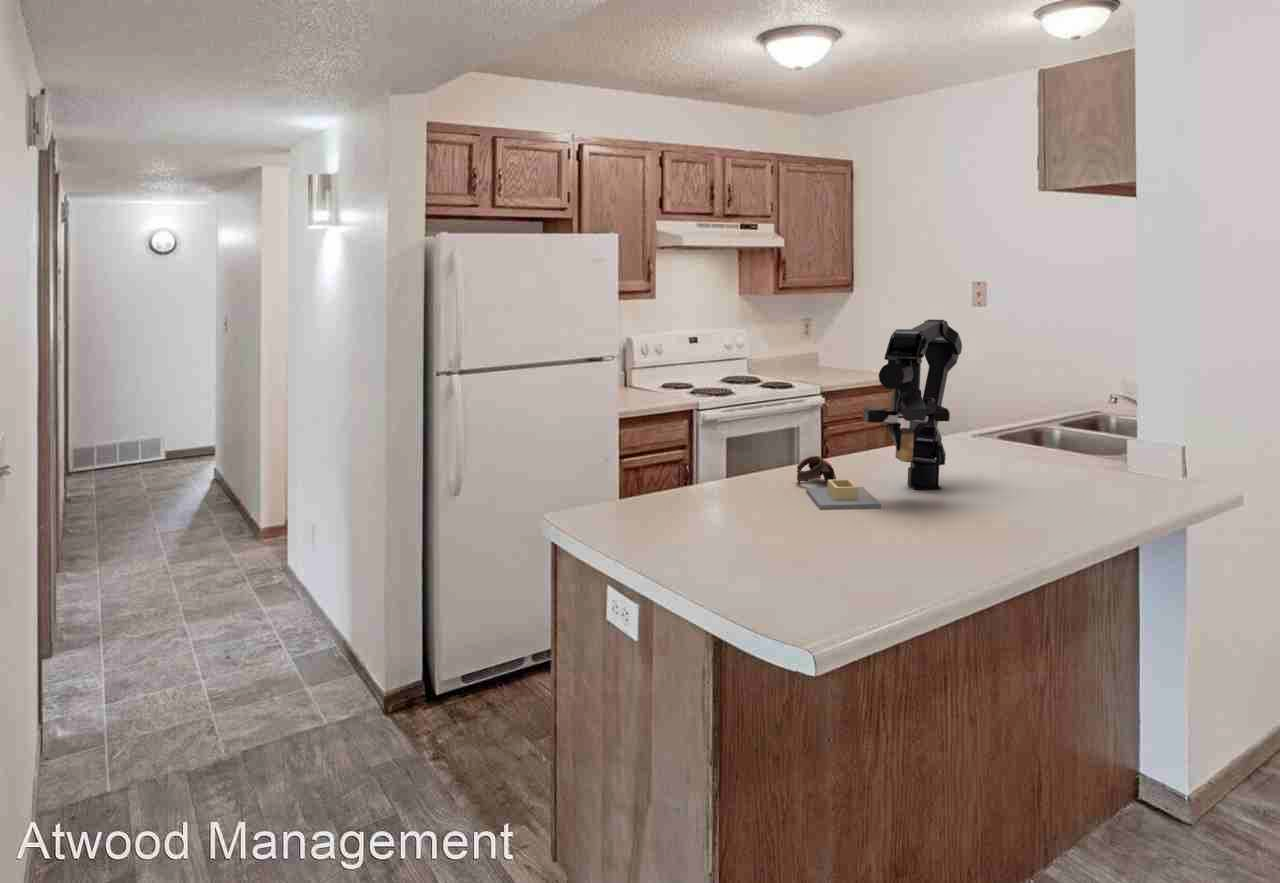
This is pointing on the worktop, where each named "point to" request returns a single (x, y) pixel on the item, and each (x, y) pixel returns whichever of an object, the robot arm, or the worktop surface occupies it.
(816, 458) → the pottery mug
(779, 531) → the worktop surface
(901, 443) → the wood topped block
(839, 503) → the grey board with socket
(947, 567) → the worktop surface
